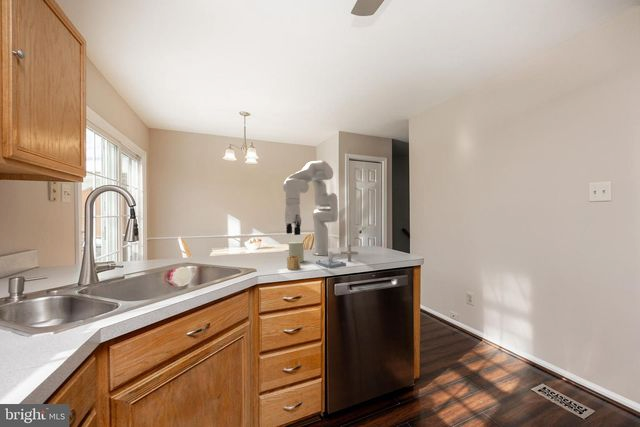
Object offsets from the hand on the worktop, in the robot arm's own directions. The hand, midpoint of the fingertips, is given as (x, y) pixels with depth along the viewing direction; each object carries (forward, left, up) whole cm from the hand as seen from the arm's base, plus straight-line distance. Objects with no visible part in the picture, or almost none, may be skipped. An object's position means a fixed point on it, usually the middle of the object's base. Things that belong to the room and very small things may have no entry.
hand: (293, 234), depth 146 cm
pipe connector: (+2, +36, -19) cm, 41 cm away
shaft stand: (+4, +21, -18) cm, 28 cm away
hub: (0, 0, -18) cm, 18 cm away
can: (-17, +10, -19) cm, 27 cm away
